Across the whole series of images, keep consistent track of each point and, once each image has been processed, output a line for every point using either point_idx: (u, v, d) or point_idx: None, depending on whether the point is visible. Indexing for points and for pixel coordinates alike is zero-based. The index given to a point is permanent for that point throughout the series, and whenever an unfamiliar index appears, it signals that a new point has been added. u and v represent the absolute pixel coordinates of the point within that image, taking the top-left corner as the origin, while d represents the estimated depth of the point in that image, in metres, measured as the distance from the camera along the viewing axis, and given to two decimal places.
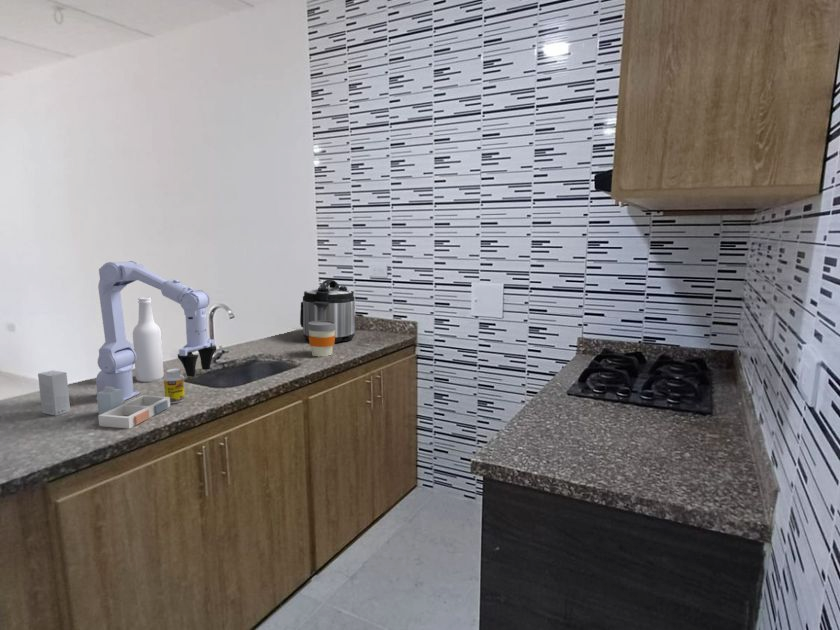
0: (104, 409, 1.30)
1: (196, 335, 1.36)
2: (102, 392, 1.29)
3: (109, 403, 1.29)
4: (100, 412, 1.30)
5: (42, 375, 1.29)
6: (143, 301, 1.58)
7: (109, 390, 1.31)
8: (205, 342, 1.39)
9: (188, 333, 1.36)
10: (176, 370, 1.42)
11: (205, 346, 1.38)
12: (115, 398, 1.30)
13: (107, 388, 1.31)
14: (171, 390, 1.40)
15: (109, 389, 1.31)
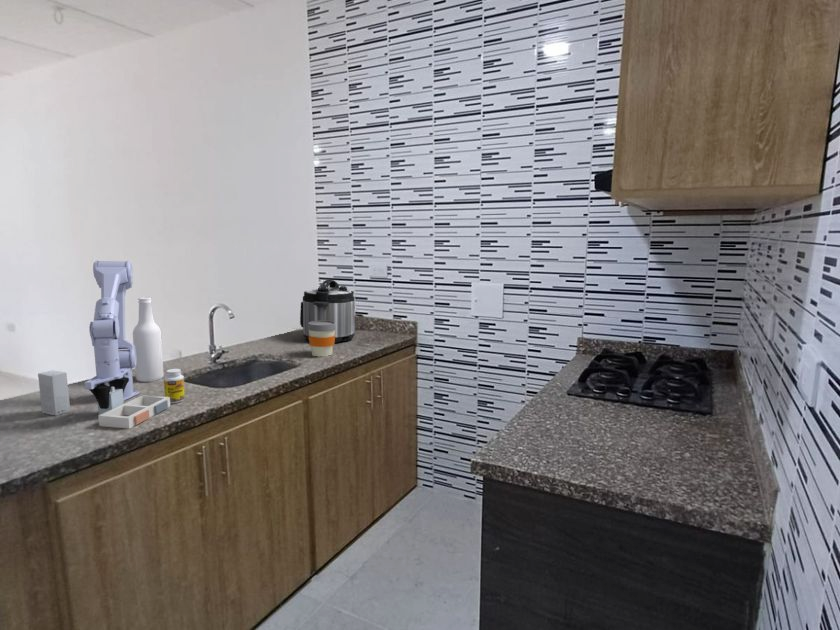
0: (104, 409, 1.30)
1: (105, 366, 1.27)
2: None
3: (109, 403, 1.29)
4: (100, 412, 1.30)
5: (42, 375, 1.29)
6: (143, 301, 1.58)
7: None
8: (117, 373, 1.30)
9: (97, 364, 1.27)
10: (176, 370, 1.42)
11: (116, 377, 1.29)
12: (115, 398, 1.30)
13: None
14: (171, 390, 1.40)
15: None
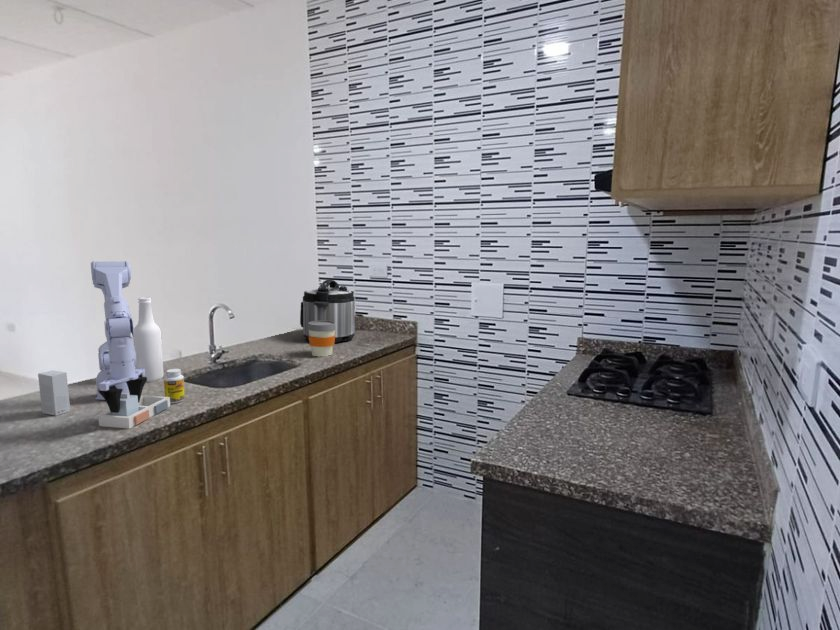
0: None
1: (120, 366, 1.22)
2: None
3: (124, 410, 1.24)
4: None
5: (42, 375, 1.29)
6: (143, 301, 1.58)
7: (124, 397, 1.26)
8: (132, 373, 1.25)
9: (111, 364, 1.22)
10: (176, 370, 1.42)
11: (131, 378, 1.24)
12: (130, 405, 1.26)
13: (122, 394, 1.26)
14: (171, 390, 1.40)
15: (124, 395, 1.26)
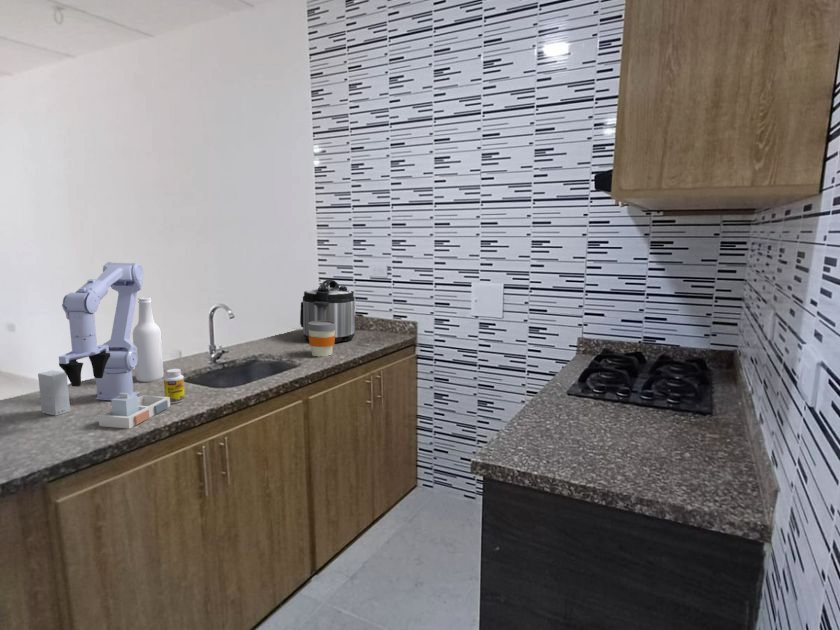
0: None
1: (81, 341, 1.23)
2: (117, 399, 1.25)
3: (124, 410, 1.24)
4: None
5: (42, 375, 1.29)
6: (143, 301, 1.58)
7: (124, 396, 1.26)
8: (93, 348, 1.26)
9: (72, 338, 1.23)
10: (176, 370, 1.42)
11: (93, 353, 1.25)
12: (130, 405, 1.26)
13: (122, 394, 1.26)
14: (171, 390, 1.40)
15: (124, 395, 1.26)
